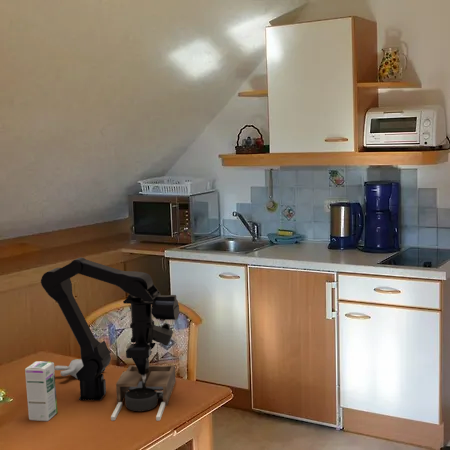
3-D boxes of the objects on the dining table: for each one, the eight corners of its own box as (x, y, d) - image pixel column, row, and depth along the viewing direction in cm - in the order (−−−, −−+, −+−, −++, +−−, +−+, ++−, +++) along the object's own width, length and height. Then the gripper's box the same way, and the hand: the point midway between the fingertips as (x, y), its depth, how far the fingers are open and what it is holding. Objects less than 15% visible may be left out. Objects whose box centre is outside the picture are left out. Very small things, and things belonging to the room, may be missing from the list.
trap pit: (128, 390, 202) (128, 389, 202) (132, 382, 208) (132, 381, 208) (169, 390, 201) (168, 389, 201) (171, 382, 208) (171, 381, 208)
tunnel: (117, 405, 191) (116, 383, 190) (129, 381, 209) (129, 361, 209) (167, 405, 190) (166, 383, 189) (175, 381, 209) (174, 361, 208)
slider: (124, 400, 193) (122, 362, 192) (126, 396, 197) (125, 358, 195) (163, 400, 193) (161, 362, 191) (164, 396, 196) (163, 358, 194)
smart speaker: (136, 398, 196) (136, 384, 195) (163, 403, 192) (163, 389, 191) (119, 409, 188) (118, 395, 187) (146, 415, 184) (146, 400, 183)
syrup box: (48, 421, 181) (45, 368, 179) (27, 420, 182) (24, 367, 180) (57, 413, 186) (55, 361, 184) (37, 411, 188) (34, 360, 186)
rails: (111, 420, 181) (110, 416, 181) (118, 405, 191) (118, 402, 190) (160, 420, 180) (159, 416, 180) (165, 405, 190) (165, 402, 190)
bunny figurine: (109, 363, 215) (63, 367, 206) (108, 379, 215) (62, 383, 207) (97, 355, 223) (52, 359, 214) (96, 370, 223) (51, 375, 215)
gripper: (166, 327, 182) (168, 384, 184) (174, 309, 200) (175, 361, 203) (124, 328, 182) (126, 384, 184) (136, 309, 201) (138, 361, 203)
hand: (143, 372), depth 194 cm, fingers open, 3 cm apart
